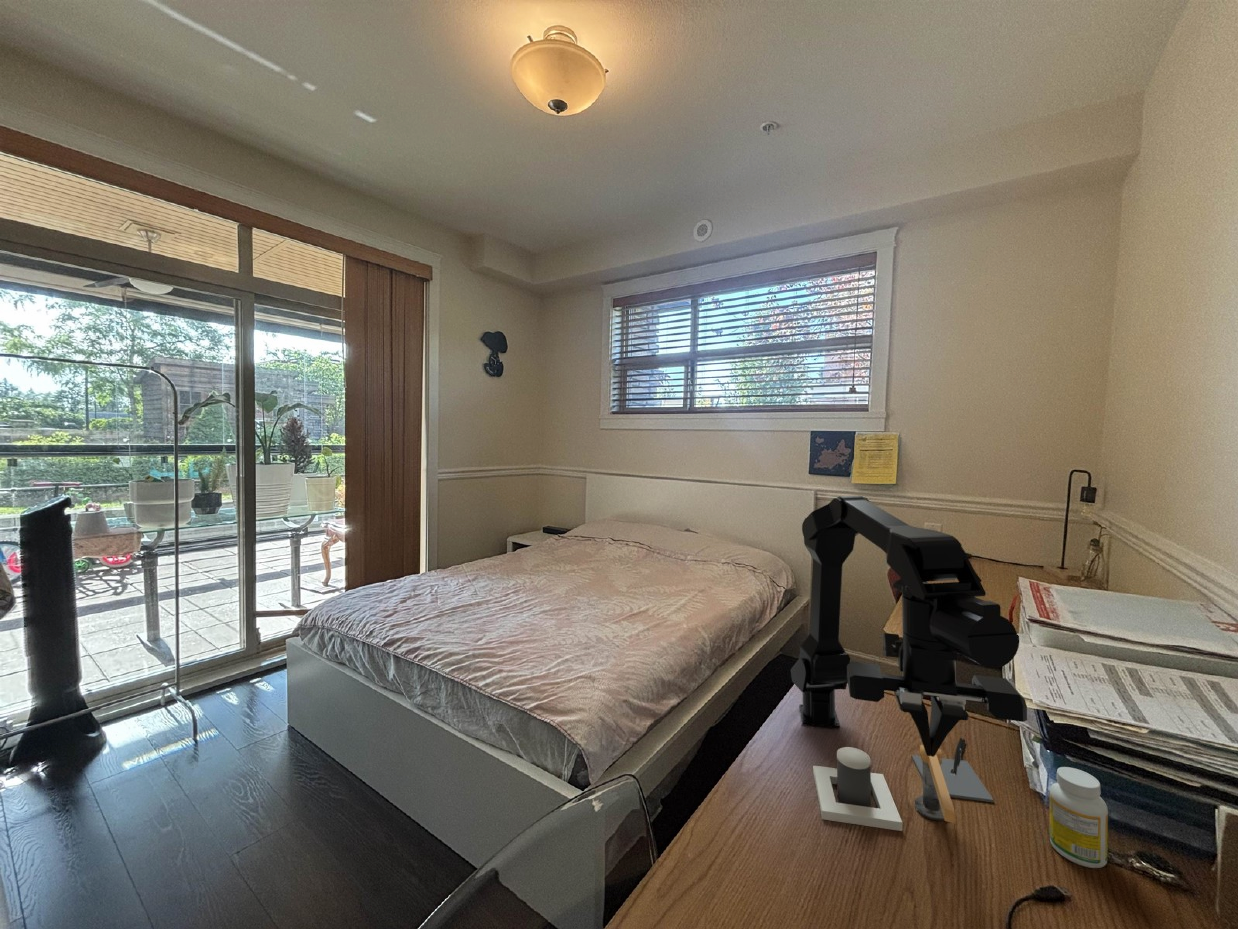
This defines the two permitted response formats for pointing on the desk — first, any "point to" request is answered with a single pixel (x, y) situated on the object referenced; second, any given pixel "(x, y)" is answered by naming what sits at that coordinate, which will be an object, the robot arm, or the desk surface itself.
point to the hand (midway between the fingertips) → (929, 754)
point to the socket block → (856, 814)
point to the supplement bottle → (1078, 818)
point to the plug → (853, 777)
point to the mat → (959, 780)
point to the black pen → (958, 755)
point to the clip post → (929, 798)
